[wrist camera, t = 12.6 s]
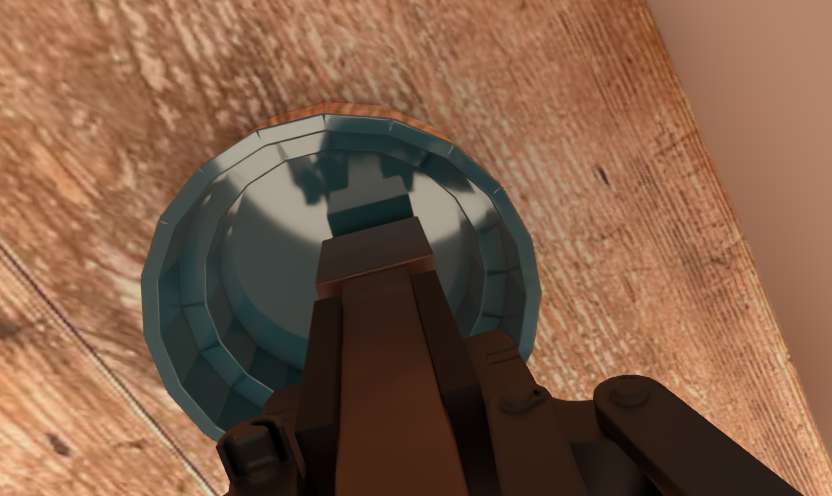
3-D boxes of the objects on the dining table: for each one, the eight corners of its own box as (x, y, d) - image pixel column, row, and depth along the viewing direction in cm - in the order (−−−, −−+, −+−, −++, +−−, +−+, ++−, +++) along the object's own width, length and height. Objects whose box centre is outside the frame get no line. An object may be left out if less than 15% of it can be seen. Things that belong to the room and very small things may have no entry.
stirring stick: (417, 215, 24) (574, 587, 7) (431, 269, 25) (601, 721, 8) (321, 240, 24) (250, 677, 7) (337, 293, 25) (308, 804, 8)
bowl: (467, 66, 25) (501, 67, 20) (525, 357, 30) (566, 427, 24) (137, 148, 25) (73, 175, 19) (246, 430, 29) (220, 520, 24)
